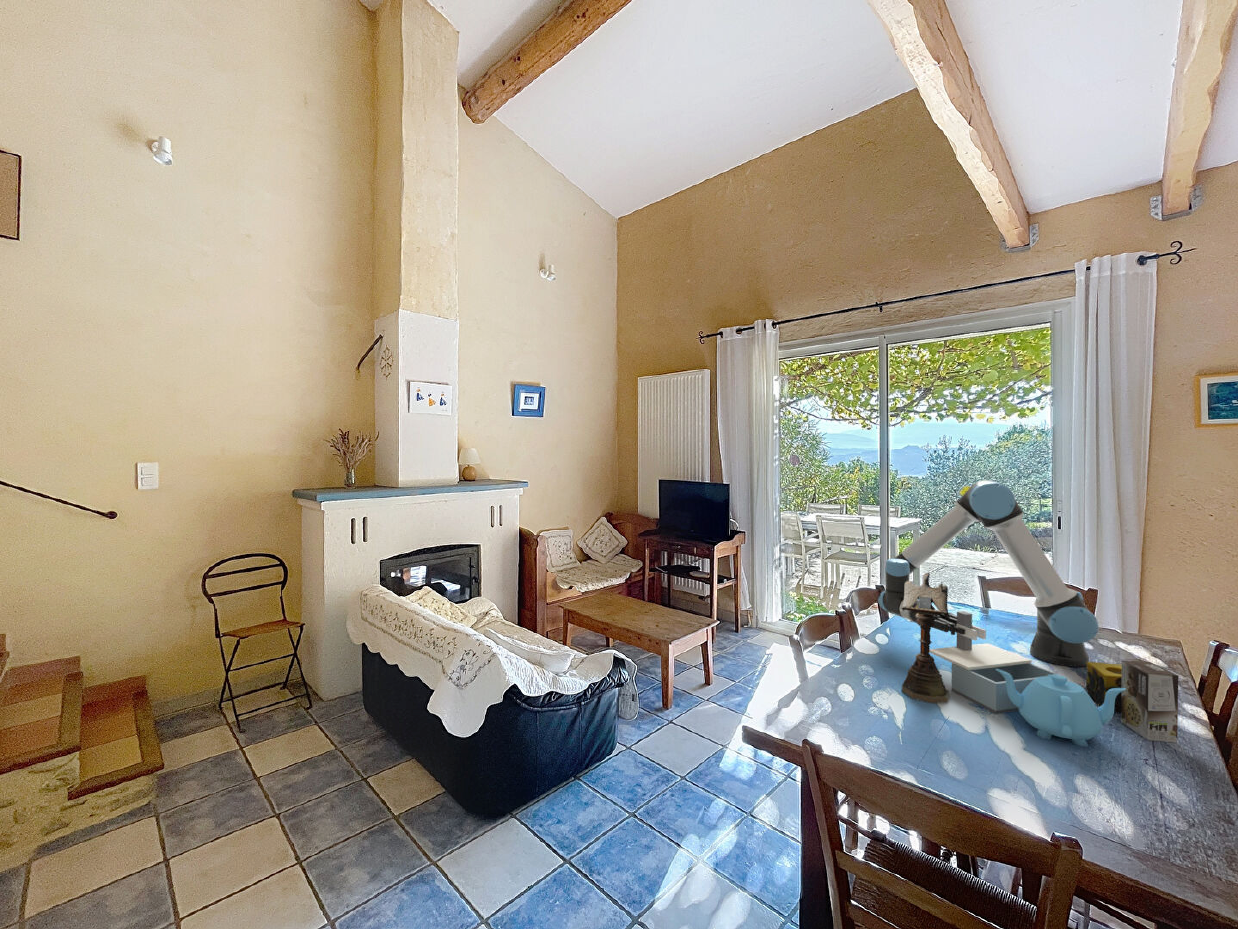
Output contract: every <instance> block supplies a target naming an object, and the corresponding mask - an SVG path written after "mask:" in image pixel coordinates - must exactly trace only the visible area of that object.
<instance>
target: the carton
mask: <svg viewBox="0 0 1238 929" xmlns="http://www.w3.org/2000/svg"><path fill="white" fill-rule="evenodd" d="M996 669H999V670H1002V671H1005V672H1007V673H1009V674H1010V675H1011V676H1012V678H1013V680H1014V685H1015V689H1016V691H1017V692H1019V693H1020V694H1022V692H1023V691H1024V689H1025V688H1026V687H1027V686H1028V685H1029V684H1030V683H1031V682H1032V681H1033V680H1034V679H1035V678H1037V677H1047V675H1052V674H1058V675H1060V674H1059V673H1056V672H1053V671H1051V670H1050V669H1049V670H1048V669H1046V668H1044V667H1041V666H1038V665H1036V664H1033V663H1032V662H1031V663H1027V664H1019V665H1010V666H1001V667H993V668H984V669H975V670H967V669H964V668H962V667H960V666H958V665H956V664H954V663H951V692H953V693H955V694H957V695H958V696H960V697H963V698H964V699H966V700H968V701H970V702H972V703H974V704H976V705H978V706H979V707H981V708H984V709H986V710H987V711H989V712H992V713H993V714H995V715H996V714H997V715H999V714H1005V713H1011V712H1012V713H1013V712H1019V709H1018V707H1017V706H1015V705H1014V704H1013V703H1012V702H1011V700H1010V699H1009V696H1008V693H1007V686H1006V681H1005V678H1004V677H1003V675H1002V674H1001V673H999V672H998V671H997V670H996Z"/></svg>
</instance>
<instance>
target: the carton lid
mask: <svg viewBox="0 0 1238 929" xmlns="http://www.w3.org/2000/svg"><path fill="white" fill-rule="evenodd" d="M956 616H957V624H959V625H962V626H965V627H968V628H970V629H972V625H973V614H972V613H970V612H967V611H964V610H962V611H956ZM929 650H930V651H929V654H932V655H933V656H936V657H938V658H941V659H942V660H945V661H948V662H949V663H951V664H952V663H954V664H956V665H958V666H960V667H962V668H964V669H967V670H975V669H984V668H993V667H1001V666H1010V665H1019V664H1027V663H1031V664H1032V659H1030V658H1027V657H1024V656H1022V655H1019V654H1016V653H1014V652H1011V651H1008V650H1005V649H1004V648H1002V647H998V646H996V645H993V644H991V643H978V644H973V639H970V638H968V637H965V636H963V635H960V634H957V633H956V646H951V647H949V646H947V647H939V648H930V649H929Z"/></svg>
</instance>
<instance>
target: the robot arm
mask: <svg viewBox="0 0 1238 929" xmlns="http://www.w3.org/2000/svg"><path fill="white" fill-rule="evenodd" d="M954 504H955V506H954V507H953V508H951V509H950V510H949V511H948V512H947V513H945V514H944V515H943V516H942V517H941V518H940V519H939V520H937V521H936V522H935V523H934V524H933V525H932V526H930V527H929V528H928V529H926V531H925V532H924V533H923V534H921V535H920V536H919V537H918V538H917V539H915V540H914V541H913V542H912V543H911V544H909V545H908V546H907V547H906V548H904V550H902V551H901V552H900V553H899V554H898V555H896V557H893V558H889V559H886V561H885V566H884V567H885V568H884V570H885V589H884V590H883V591H881V592H880V595H879V597H878V604H879V606H880V608H881V609H883V610H884V611H886V612H888V613H890V614H892V615H895V616H898V617H900V618H902V619H905V620H908V621H909V623H916V622H917V618H916V616H915V615H916V614H917V613H912V611H911V610H904V611H902V612H901V613H900V611H901V608H902V605H903V601H904V585H905V582H906V581H910V577H911V576H910V575H912V573H914V572H915V571H916V570H917V569H918V568H919V567H920V566H922V565H923V564H924V563H925V562H927V561H928V560H929V559H930V558H931V557H932V556H934V555H935V554H936V553H937V552H938V551H940V550H941V549H942V548H944V547H945V546H946V545H948V543H950V542H951V541H952V540H953V539H954V538H956V537H958V535H959V534H960V533H962V532H963V531H965V529H967V528H968V527H969V526H970V525H972V524H973V523H975V522H977V523H978V522H981V524H982V525H983V527H984V528H985V529H988V530H991V531H992V532H993V533H994V534H995V536H996V538H997V539H998V540H999V542H1000V543H1001V545H1002V546H1003V548H1004V550H1005V551H1006V553H1007V554H1008V557H1009V558H1010V559H1011V561H1012V562H1013V563H1014V565H1015V568H1017V570H1018V571H1019V573H1020V575H1021V576H1022V577H1023V580H1024V582H1026V583H1027V585H1028V588H1030V590H1031V591H1032V593H1033V594H1034V596H1035V601H1034V603H1033V604H1034V606H1035V608H1036V633H1035V635H1034V637H1033V639H1032V642H1031V644H1030V647H1029V648H1030V650H1029V653H1030V655H1032V656H1033V657H1035V658H1036V659H1038V660H1041V661H1043V662H1048V663H1051V664H1055V665H1061V666H1066V667H1087V662H1090V657H1089V654H1088V652H1087V649H1086V646H1085V643H1088V642H1089V641H1091V640H1093V639H1094V638H1095V637H1096V636H1097V635H1098V632H1099V622H1098V619H1097V617H1096V615H1095V614H1094V613H1092V612H1091V611H1090V610H1089V608H1088V607H1087V605H1086V604H1085V602H1084V597H1083V593H1081V592H1079V591H1077V590H1075V589H1072V588H1068V587H1067V586H1066V584H1065V582H1064V581H1063V580H1062V578H1061V577H1060V575H1059V574H1058V572H1057V571H1056V568H1054V566H1053V564H1052V563H1051V561H1050V560H1049V559H1048V557H1047V556H1046V554H1045V552H1044V551H1043V550H1042V548H1041V546H1040V545H1039V544H1038V542H1037V540H1036V539H1035V537H1034V536H1033V534H1032V533H1031V531H1030V530H1029V528H1028V527H1027V525H1026V524H1025V523H1024V521H1023V519H1022V518H1023V515H1024V511H1023V510H1022V508H1021V507H1020V505H1019V503H1018V502H1017V500H1016V498H1015V494H1014V493H1013V492H1012V490H1011V488H1009V487H1008V486H1007V485H1005V484H1004V483H1001V482H998V481H994V480H989V479H983V480H979V481H977V482H975V483H974V484H972V485H971V486H969V488H968V489H967V491H965V493H964V494H963V495H961V496H960V498H959V499H957V500H956V501H955V503H954ZM918 603H919V599H917V601H916V602H915V603H914V604H913V605H912V606H911V607H913V608H915V607H916V606H917V604H918ZM933 608H934V609H935V610H936V608H935V607H934V606H933ZM948 613H949V616H950V620H949V619H948V618H947V617H946V616H945V615H944V614H938V613H937V614H938V616H935V615H934V616H935V618H936V619H935V620H934V623H935V625H934V627H931V629H932V628H933V629H935V630H939V631H942V632H944V633H949V632H950V635H951V636H955V635H957V634H960V635H963V636H965V637H968V638H970V639H972V641H977V640H978V638H979V639H982V640H986V639H987V630H986V629H985V628H981V627H978V626H976V625H974V624H972V629H970V628H968V627H965V626H962V625H959V624H957V614H956V615H955V614H954V613H952V612H948ZM916 624H917V623H916Z"/></svg>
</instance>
